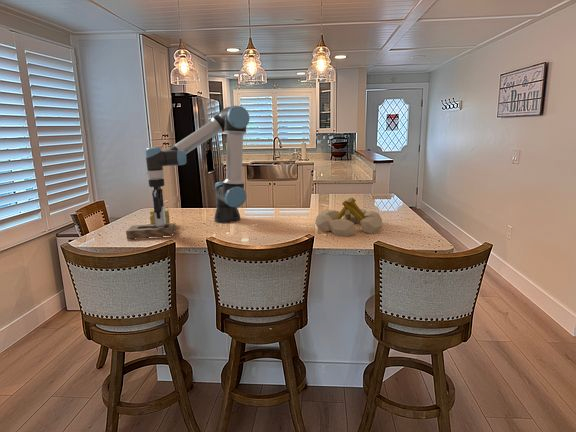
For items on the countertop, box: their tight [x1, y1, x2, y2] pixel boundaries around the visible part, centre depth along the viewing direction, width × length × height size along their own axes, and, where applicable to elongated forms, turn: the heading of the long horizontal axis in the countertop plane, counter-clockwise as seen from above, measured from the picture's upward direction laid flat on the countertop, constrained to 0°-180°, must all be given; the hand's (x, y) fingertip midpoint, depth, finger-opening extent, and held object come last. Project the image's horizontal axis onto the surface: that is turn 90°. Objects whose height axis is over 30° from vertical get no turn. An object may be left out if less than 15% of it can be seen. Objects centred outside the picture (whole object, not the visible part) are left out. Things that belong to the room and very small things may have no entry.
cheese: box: [149, 207, 170, 224], centre depth 227 cm, size 10×11×10 cm
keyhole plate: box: [125, 222, 176, 240], centre depth 210 cm, size 22×12×4 cm, turn 96°
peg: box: [154, 205, 166, 228], centre depth 209 cm, size 6×6×14 cm
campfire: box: [314, 197, 383, 237], centre depth 211 cm, size 35×34×17 cm
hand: (160, 223), depth 210 cm, fingers closed on peg, 4 cm apart
